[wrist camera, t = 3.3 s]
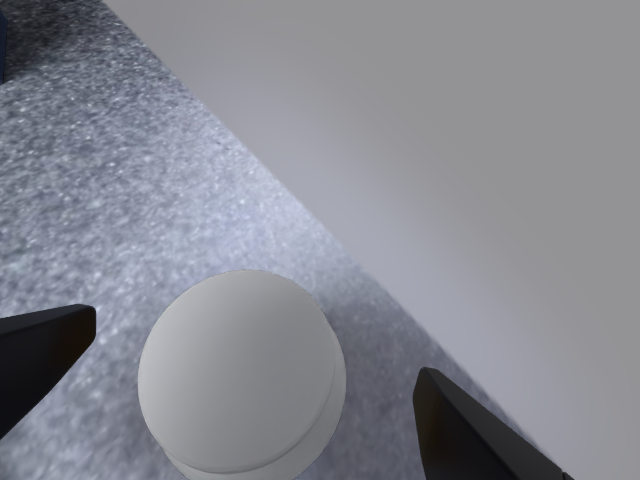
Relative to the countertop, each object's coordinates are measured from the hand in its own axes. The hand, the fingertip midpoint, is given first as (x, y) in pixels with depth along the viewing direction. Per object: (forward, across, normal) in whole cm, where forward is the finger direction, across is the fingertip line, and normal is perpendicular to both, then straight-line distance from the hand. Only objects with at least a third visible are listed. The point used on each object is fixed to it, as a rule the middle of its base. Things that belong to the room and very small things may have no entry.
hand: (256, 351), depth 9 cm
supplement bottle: (+5, 0, +6) cm, 8 cm away
